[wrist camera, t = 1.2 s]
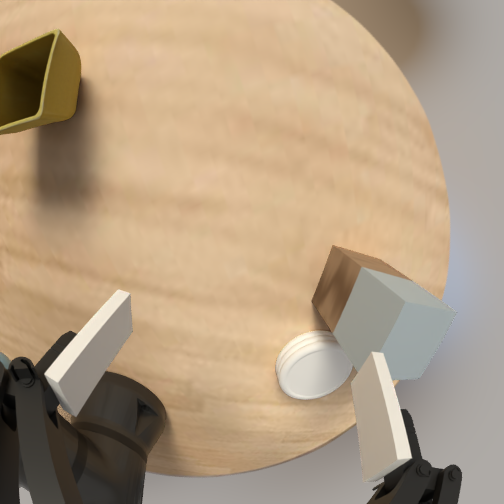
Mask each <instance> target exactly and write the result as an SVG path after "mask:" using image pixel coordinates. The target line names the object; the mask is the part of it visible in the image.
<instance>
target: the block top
mask: <svg viewBox="0 0 504 504" xmlns="http://www.w3.org/2000/svg"><path fill="white" fill-rule="evenodd" d="M456 313H457V312H456V311H454V310H453V309H452V308H450V307H449V306H448V305H446V304H445V303H444V302H442V301H441V300H439V299H438V298H437V297H435V296H434V295H432V294H431V293H430V292H428V291H427V290H425V289H424V288H422V287H421V286H419V285H418V284H417V283H415V282H414V281H410V280H407V279H403V278H400V277H396V276H393V275H389V274H386V273H382V272H379V271H375V270H371V269H368V268H364V267H361V270H360V272H359V275H358V277H357V280H356V282H355V284H354V287H353V289H352V292H351V294H350V296H349V299H348V301H347V303H346V306H345V308H344V310H343V312H342V315H341V317H340V319H339V321H338V323H337V325H336V328H335V330H334V332H333V335H334V336H335V338H336V339H337V341H338V342H339V344H340V346H341V347H342V349H343V350H344V352H345V353H346V355H347V356H348V358H349V360H350V361H351V363H352V364H353V366H354V368H355V369H356V371H357V372H359V370H360V369H361V367H362V366H363V364H364V363H365V361H366V360H367V358H368V356H369V355H370V353H371V352H379V353H383V354H384V357H385V360H386V363H387V366H388V369H389V372H390V376H391V379H392V380H408V379H419V378H420V376H421V375H422V373H423V372H424V370H425V369H426V367H427V365H428V364H429V362H430V361H431V359H432V357H433V356H434V354H435V352H436V351H437V349H438V347H439V346H440V344H441V342H442V340H443V338H444V337H445V335H446V333H447V331H448V329H449V327H450V325H451V323H452V321H453V319H454V317H455V315H456Z"/></svg>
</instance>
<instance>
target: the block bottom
mask: <svg viewBox="0 0 504 504" xmlns="http://www.w3.org/2000/svg"><path fill="white" fill-rule="evenodd" d="M361 267H364V268H368V269H371V270H375V271H379V272H382V273H386V274H389V275H393V276H396V277H400V278H403V279H407V280H410V281H412V280H411V279H409V278H408V277H406V276H405V275H403V274H402V273H400V272H399V271H397V270H396V269H394V268H393V267H391V266H390V265H388V264H387V263H385V262H383V261H382V260H380V259H377V258H374V257H371V256H367V255H364V254H361V253H358V252H354V251H351V250H348V249H344V248H341V247H337V246H334V245H333V246H332V249H331V252H330V254H329V257H328V260H327V263H326V265H325V268H324V271H323V273H322V276H321V278H320V281H319V284H318V286H317V289H316V291H315V294H314V296H313V299H312V302H313V304H314V305H315V307H316V308H317V310H318V311H319V313H320V314H321V316H322V318H323V319H324V321H325V322H326V324H327V325H328V327H329V328H330V330H331V331H332V333H333V332H334V330H335V328H336V325H337V323H338V321H339V319H340V317H341V315H342V312H343V310H344V308H345V306H346V303H347V301H348V299H349V296H350V294H351V292H352V289H353V287H354V284H355V282H356V280H357V277H358V275H359V272H360V270H361Z"/></svg>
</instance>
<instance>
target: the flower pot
mask: <svg viewBox="0 0 504 504" xmlns="http://www.w3.org/2000/svg"><path fill="white" fill-rule="evenodd" d="M80 78H81V60H80V56H79V53H78V51H77V50H76V48H75V47H74V46H73V45H72V43H71V42H70V41H69V40H68V39H67V38H66V36H65V35H64V34H63V33H62V32H61V31H60V30H59V29H55V30H52V31H50V32H47V33H45V34H43V35H41V36H39V37H36V38H34V39H32V40H30V41H28V42H26V43H24V44H22V45H20V46H18V47H15V48H13V49H11V50H9V51H7V52H5V53H4V54H2V55H1V56H0V135H2V134H10V133H17V132H21V131H24V130H27V129H31V128H34V127H38V126H42V125H46V124H50V123H55V122H60V121H64V120H67V119H69V118H71V117H72V116H73V115H74V113H75V111H76V105H77V97H78V90H79V84H80Z"/></svg>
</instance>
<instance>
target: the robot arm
mask: <svg viewBox="0 0 504 504" xmlns="http://www.w3.org/2000/svg"><path fill="white" fill-rule="evenodd" d="M132 332H133V328H132V315H131V296H130V293H128V292H125V291H122V290H119V289H118V290H117V291H116V292H115V293H114V294H113V296H112V297H111V298H110V299H109V300H108V301H107V302H106V303H105V304H104V305H103V306H102V307H101V308H100V309H99V311H98V312H97V313H96V314H95V315H94V316H93V317H92V318H91V319H90V320H89V322H88V323H87V324H86V325H85V326H84V327H83V328H82V329H81V331H80V332H79V333H78V334H76V333H74V332H72V331H69V332H67V333H65V334H64V335H62V336H61V337H60V338H59V339H58V340H57V341H56V343H55V344H54V345H53V346H52V347H51V349H49V350H48V352H47V353H46V354H45V355H44V356H43V357H42V359H41V360H40V361H39V362H38V363H37V364H36V366H35V367H34V365H33V363H32V362H31V360H30V359H28V358H26V357H18V358H15V359H14V360H12V361H10V360H9V358H8V357H7V356H6V355H4V354H3V353H1V352H0V504H20V499H19V488H20V487H23V488H25V489H26V490H28V491H29V492H30V495H31V498H32V501H33V504H142V497H143V488H144V479H145V470H146V463H147V457H148V454H149V453H150V451H151V449H152V448H153V446H154V445H155V443H156V442H157V440H158V439H159V437H160V436H161V434H162V432H163V430H164V426H165V420H166V413H165V409H164V407H163V405H162V403H161V402H160V400H159V399H158V398H157V397H156V396H155V395H154V394H153V393H152V392H151V391H149V390H148V389H147V388H145V387H144V386H143V385H141V384H139V383H138V382H136V381H134V380H132V379H130V378H127V377H125V376H122V375H119V374H116V373H112V372H106V370H107V368H108V367H109V365H110V364H111V362H112V361H113V359H114V358H115V356H116V355H117V353H118V352H119V350H120V349H121V347H122V346H123V345H124V343H125V342H126V340H127V339H128V337H129V336H130V334H131V333H132ZM350 384H351V390H352V396H353V402H354V409H355V415H356V423H357V430H358V438H359V446H360V455H361V464H362V476H363V482H373V481H377V480H379V479H381V478H382V477H384V482H383V483H381V484H379V485H377V486H376V487H374V488H373V490H376V489H377V491H376V492H375V494H374V495H373V496H372V498H371V499H370V500H369V502H368V503H367V504H457V503H458V498H459V493H460V487H461V481H462V472H461V470H460V468H459V467H458V466H456V465H450V466H448V467H446V468H445V469H439V468H433V467H432V466H431V464H430V463H429V462H428V461H426V460H424V459H422V456H421V452H420V447H419V443H418V439H417V435H416V434H415V432H416V431H415V428H414V427H413V426H414V424H413V420H412V417H411V415H410V414H409V413H408V411H407V410H406V409H400V406H399V403H398V399H397V396H396V392H395V389H394V385H393V382H392V379H391V376H390V372H389V369H388V366H387V363H386V360H385V357H384V354H383V353H379V352H371V353H370V355H369V356H368V358H367V360H366V361H365V363H364V364H363V366H362V367H361V369H360V370H359V372H358V373H357V375H356V376H355V377H354V379H353V380H352V382H351V383H350ZM59 404H60V405H61V406H62V408H63V410H65V411H67V412H68V413H70V414H71V424H70V423H69V422H68V421H67V420H65V419H64V418H63V417H62V416H61V415H60V414H59V413H58V410H57V407H58V405H59ZM432 499H433V500H432Z"/></svg>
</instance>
